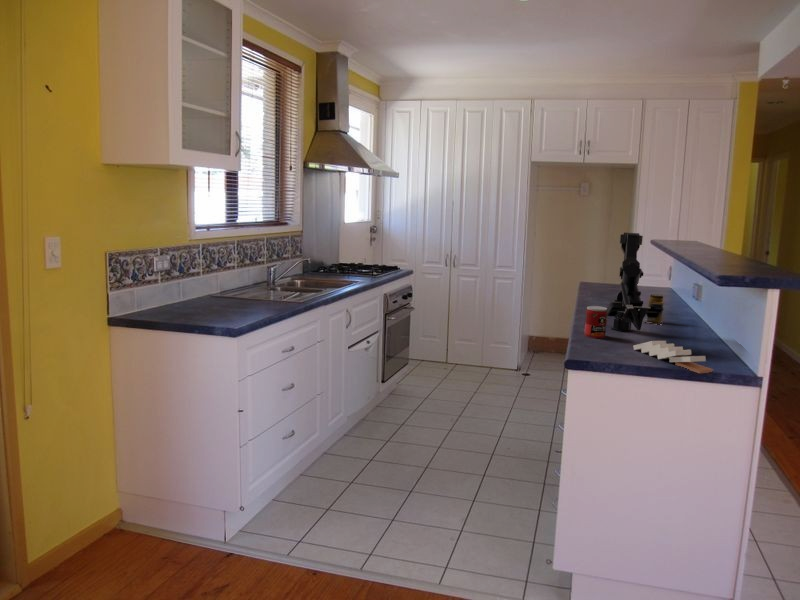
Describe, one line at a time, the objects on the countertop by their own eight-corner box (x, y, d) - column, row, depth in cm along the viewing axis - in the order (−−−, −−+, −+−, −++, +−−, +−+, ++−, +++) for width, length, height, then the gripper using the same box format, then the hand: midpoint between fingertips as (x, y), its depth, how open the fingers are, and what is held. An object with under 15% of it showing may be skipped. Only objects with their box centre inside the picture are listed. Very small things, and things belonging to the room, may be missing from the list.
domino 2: (641, 348, 227) (659, 343, 218) (654, 348, 229) (674, 343, 219) (641, 353, 227) (660, 348, 218) (655, 352, 228) (674, 348, 219)
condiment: (662, 322, 288) (665, 295, 286) (661, 325, 280) (664, 297, 278) (644, 320, 291) (647, 293, 289) (643, 323, 283) (646, 295, 281)
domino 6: (675, 362, 212) (699, 370, 203) (689, 361, 214) (713, 369, 205) (675, 366, 212) (699, 375, 203) (688, 366, 215) (712, 374, 205)
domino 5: (669, 357, 214) (690, 356, 205) (683, 356, 216) (705, 355, 206) (669, 362, 214) (690, 361, 204) (684, 361, 216) (705, 361, 206)
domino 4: (657, 354, 219) (675, 350, 210) (672, 353, 220) (690, 349, 211) (657, 359, 219) (675, 355, 209) (672, 358, 220) (691, 354, 210)
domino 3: (648, 351, 223) (667, 347, 214) (663, 350, 225) (682, 346, 215) (649, 356, 223) (668, 351, 213) (663, 355, 224) (683, 351, 215)
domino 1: (633, 345, 231) (651, 340, 222) (646, 345, 233) (665, 340, 224) (633, 350, 231) (652, 345, 221) (647, 349, 232) (666, 345, 223)
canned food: (591, 338, 247) (594, 309, 245) (580, 333, 254) (582, 305, 252) (609, 338, 249) (612, 309, 247) (597, 333, 256) (600, 305, 255)
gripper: (648, 307, 247) (657, 343, 238) (598, 305, 246) (605, 340, 237) (659, 289, 238) (668, 326, 229) (608, 287, 237) (615, 323, 228)
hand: (639, 329), depth 231 cm, fingers closed
